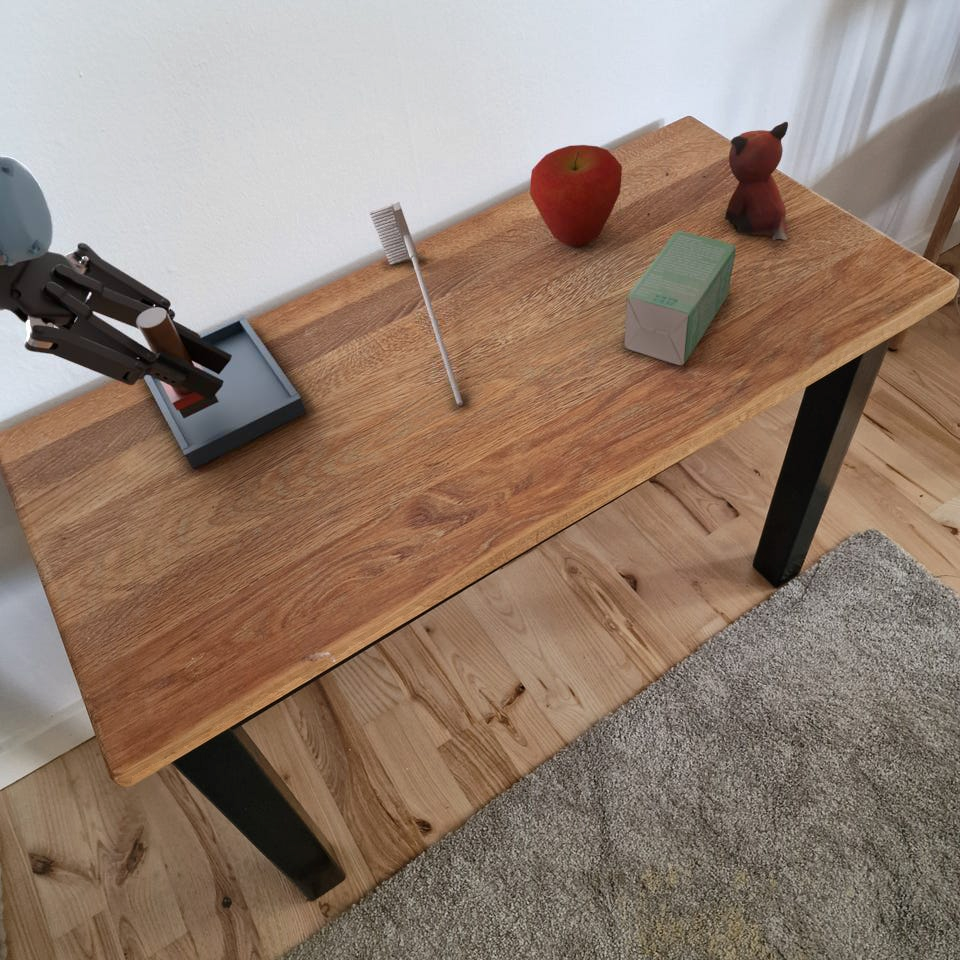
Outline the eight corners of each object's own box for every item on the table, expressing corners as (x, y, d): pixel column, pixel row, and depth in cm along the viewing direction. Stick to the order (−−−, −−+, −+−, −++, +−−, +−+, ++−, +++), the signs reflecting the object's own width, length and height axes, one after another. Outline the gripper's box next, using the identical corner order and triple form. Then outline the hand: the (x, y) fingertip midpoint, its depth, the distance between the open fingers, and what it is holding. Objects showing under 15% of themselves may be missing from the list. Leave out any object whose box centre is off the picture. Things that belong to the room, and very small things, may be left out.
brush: (440, 435, 94) (421, 391, 86) (389, 264, 107) (368, 211, 99) (472, 425, 94) (455, 379, 86) (417, 255, 107) (398, 201, 99)
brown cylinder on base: (221, 402, 87) (178, 317, 78) (182, 420, 86) (134, 336, 77) (195, 358, 92) (152, 273, 83) (157, 375, 91) (110, 291, 82)
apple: (602, 205, 110) (603, 119, 101) (632, 251, 104) (637, 162, 94) (523, 226, 109) (516, 140, 100) (548, 273, 103) (544, 186, 93)
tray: (306, 412, 92) (301, 397, 90) (192, 468, 88) (184, 455, 87) (248, 328, 102) (242, 314, 100) (144, 376, 98) (136, 362, 97)
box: (730, 294, 97) (738, 240, 91) (684, 368, 90) (690, 315, 84) (671, 278, 100) (675, 225, 94) (622, 349, 93) (624, 296, 87)
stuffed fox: (762, 261, 100) (780, 171, 90) (704, 217, 106) (715, 128, 97) (812, 238, 101) (834, 147, 92) (752, 196, 108) (767, 108, 99)
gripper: (1, 227, 81) (223, 344, 92) (-73, 339, 71) (186, 455, 82) (23, 173, 76) (254, 304, 87) (-53, 285, 66) (219, 417, 77)
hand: (220, 377), depth 85 cm, fingers closed on brown cylinder on base, 3 cm apart
